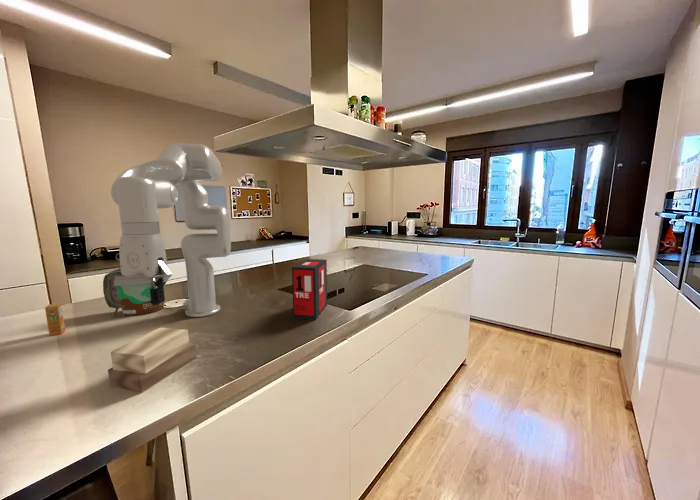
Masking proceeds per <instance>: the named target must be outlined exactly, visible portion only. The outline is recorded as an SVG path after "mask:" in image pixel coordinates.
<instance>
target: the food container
mask: <svg viewBox="0 0 700 500" xmlns="http://www.w3.org/2000/svg"><path fill="white" fill-rule="evenodd" d="M158 274H159V272H157V273H156V275H158ZM153 276H154V275H153ZM159 278H160V277H156V278H155V280H156V281H157V280H158V279H159ZM151 282H153V281H152V278H145V277H143V275H137V276H115V279H114V286H117V289H118V294H119V298H120V303H121V307H122V308H121V311H122V316H123V317H125V318H127V317H128V318H131V317H141V316H146V315H151V314H155V313H158V312H160V311H162V310H163V309H164V308H165V301H164V302H161V303H159V304H156V305H152V303H151V293H150V289H153V288H152V286H151Z"/></svg>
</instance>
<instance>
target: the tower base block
mask: <svg viewBox="0 0 700 500" xmlns="http://www.w3.org/2000/svg"><path fill="white" fill-rule="evenodd" d="M196 348H197V347H196V344H195V343H190V342H189V346H187V347H186V348H184V349H183V350H181V351H180V352H178V353H177V354H175V355H174V356H172V357H171V358H169V359H168V360H166V361H164V362H163V363H161V364H160V365H158V366H157V367H155V368H154V369H152V370H151V371H149V372H148V373H146V374H144V373H135V372H127V371H119V370H113V366H112V367H110V368H109V369H107V373H108V379H109V380H108V381H109V386H110V387H114V388H120V389H123V390H128V391H132V392H137V393H141V394H143V393H145V392H146V391H147V390H149V389H150V388H152V387H153V386H156V385H157V384H158V383H160V382H162V381H163V380H165V379H166V378H168V377H169V376H171V375H172V374H174V373H176V372H177V371H179V370H181V368H183V367H184V366H185V367H186V365H188V364H189V363H191V362H192V361H194V360H196V359H197V350H196Z"/></svg>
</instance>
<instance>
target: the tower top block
mask: <svg viewBox="0 0 700 500" xmlns="http://www.w3.org/2000/svg"><path fill="white" fill-rule="evenodd" d="M189 343H190V338H189V329H184V328H183V329H182V328H181V329H179V328H169V327H158V328H156V329H154V330H152V331H150V332H148V333H146V334H144V335H142V336H140V337H138V338H136V339H133V340H132V341H129V342H128V343H126V344H124V345H122V346H120V347H118V348H116V349H114V350H112V351H110V357H111V363H112V367H113V370H119V371H127V372H135V373H144V374H146V373H148V372H149V371H151V370H152V369H154V368H155V367H157V366H158V365H160V364H161V363H163V362H164V361H166V360H168V359H169V358H171V357H172V356H174V355H175V354H177V353H178V352H180V351H181V350H183V349H184V348H186V347H187V346H189Z"/></svg>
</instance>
